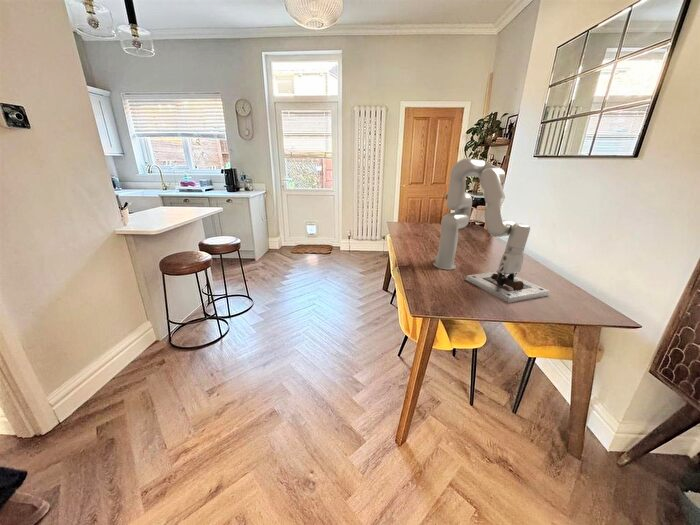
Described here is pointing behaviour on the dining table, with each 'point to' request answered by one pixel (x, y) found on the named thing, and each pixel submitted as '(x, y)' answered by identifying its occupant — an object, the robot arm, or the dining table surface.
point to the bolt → (510, 282)
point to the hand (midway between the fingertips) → (504, 283)
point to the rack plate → (511, 296)
